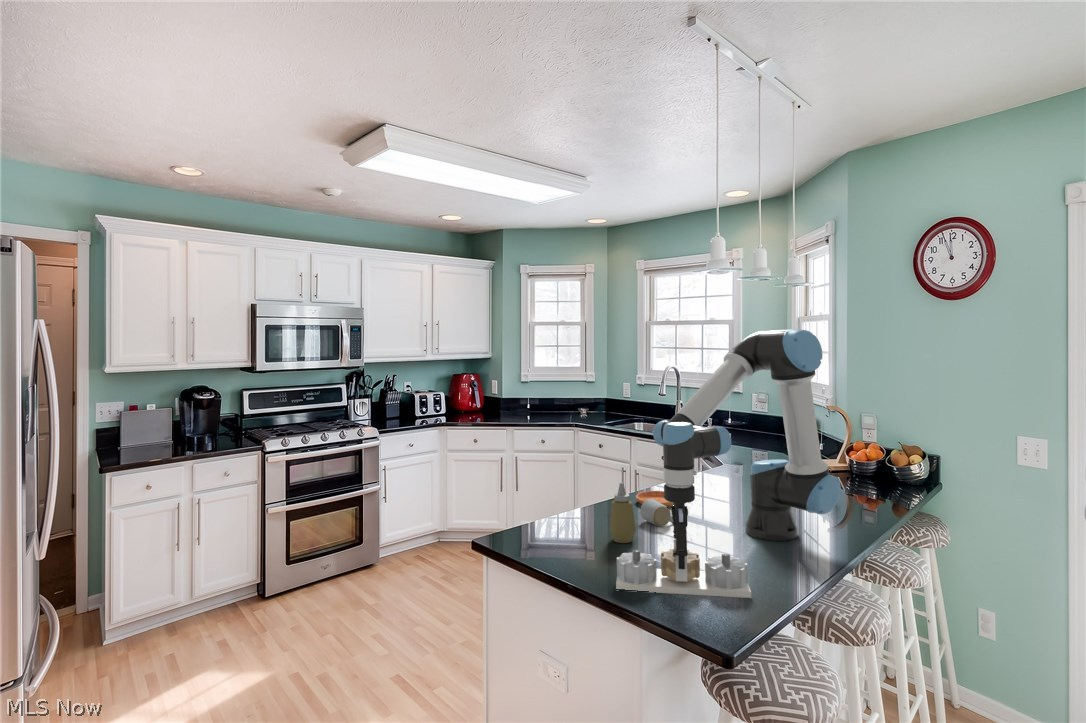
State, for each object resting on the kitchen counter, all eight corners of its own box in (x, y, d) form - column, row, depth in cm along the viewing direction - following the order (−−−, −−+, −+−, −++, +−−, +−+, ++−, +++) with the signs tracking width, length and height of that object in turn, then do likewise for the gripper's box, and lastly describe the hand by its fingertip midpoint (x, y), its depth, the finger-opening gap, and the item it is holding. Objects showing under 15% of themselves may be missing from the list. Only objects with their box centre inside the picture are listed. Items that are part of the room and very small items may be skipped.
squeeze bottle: (619, 547, 168) (618, 487, 168) (604, 539, 175) (603, 482, 175) (641, 541, 172) (640, 484, 171) (625, 534, 179) (624, 478, 179)
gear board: (743, 578, 144) (743, 544, 143) (751, 598, 133) (750, 560, 132) (618, 572, 150) (617, 539, 149) (616, 590, 139) (615, 554, 139)
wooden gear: (661, 565, 147) (660, 548, 146) (697, 567, 145) (697, 549, 145) (661, 580, 137) (661, 561, 137) (701, 582, 136) (700, 563, 135)
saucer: (680, 510, 203) (680, 502, 203) (635, 509, 206) (635, 501, 206) (677, 498, 219) (677, 491, 219) (636, 497, 222) (636, 490, 222)
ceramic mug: (654, 529, 183) (654, 506, 183) (640, 522, 191) (639, 499, 191) (680, 524, 188) (680, 502, 188) (665, 518, 195) (665, 496, 195)
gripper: (698, 496, 129) (699, 592, 130) (691, 474, 150) (692, 556, 151) (665, 495, 130) (666, 590, 131) (662, 473, 152) (664, 555, 153)
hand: (680, 572), depth 141 cm, fingers closed on wooden gear, 9 cm apart
